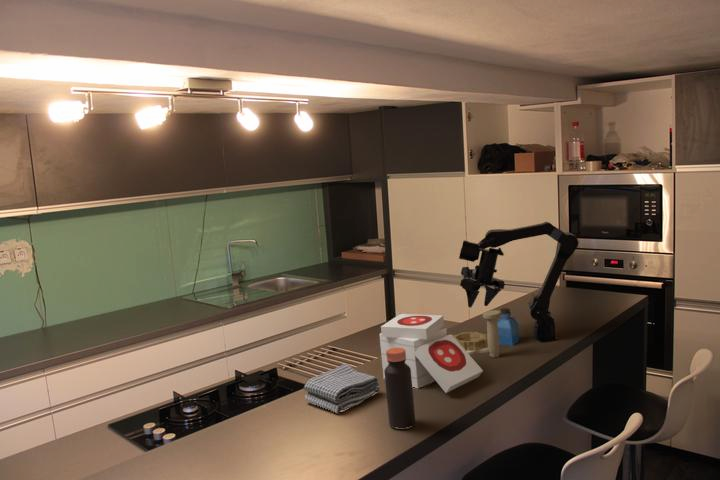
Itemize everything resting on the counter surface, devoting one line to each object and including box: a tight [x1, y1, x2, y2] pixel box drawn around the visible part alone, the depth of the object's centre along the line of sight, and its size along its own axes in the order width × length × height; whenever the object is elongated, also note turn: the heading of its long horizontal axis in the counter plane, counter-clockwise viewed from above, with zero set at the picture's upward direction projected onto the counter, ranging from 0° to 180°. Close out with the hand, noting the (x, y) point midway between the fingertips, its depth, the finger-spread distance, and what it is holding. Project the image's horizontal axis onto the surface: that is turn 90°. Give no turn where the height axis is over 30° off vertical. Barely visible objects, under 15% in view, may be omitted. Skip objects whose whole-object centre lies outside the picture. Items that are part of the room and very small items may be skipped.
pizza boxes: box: [379, 313, 484, 394], centre depth 185 cm, size 19×30×18 cm, turn 41°
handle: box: [482, 309, 501, 359], centre depth 200 cm, size 5×6×15 cm
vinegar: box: [384, 348, 416, 428], centre depth 156 cm, size 7×7×20 cm
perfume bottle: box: [497, 307, 520, 347], centre depth 214 cm, size 6×6×12 cm
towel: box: [303, 363, 380, 414], centre depth 177 cm, size 15×18×8 cm
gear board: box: [452, 331, 489, 356], centre depth 212 cm, size 14×14×4 cm
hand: (477, 306), depth 217 cm, fingers open, 9 cm apart
